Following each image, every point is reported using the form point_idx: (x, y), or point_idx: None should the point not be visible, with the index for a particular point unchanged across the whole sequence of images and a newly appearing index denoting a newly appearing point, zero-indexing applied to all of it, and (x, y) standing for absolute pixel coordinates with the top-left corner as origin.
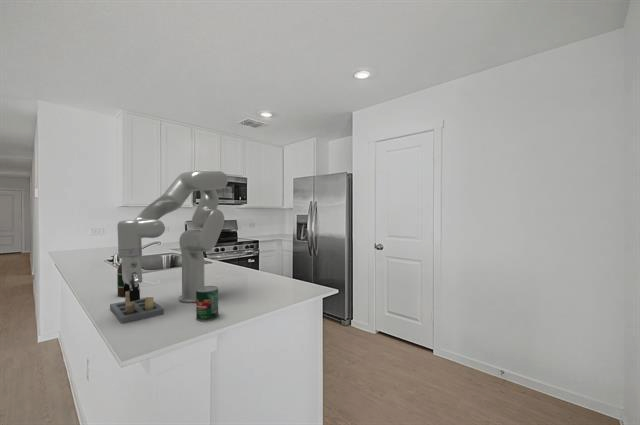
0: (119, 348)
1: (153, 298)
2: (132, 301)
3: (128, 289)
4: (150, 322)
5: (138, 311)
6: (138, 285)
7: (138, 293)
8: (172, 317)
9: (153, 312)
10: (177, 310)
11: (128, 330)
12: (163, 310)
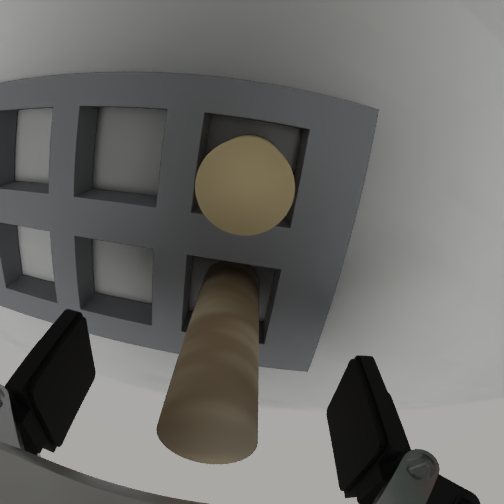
0: (500, 391)
1: (274, 147)
2: (256, 358)
3: (66, 390)
4: (429, 246)
5: (259, 261)
6: (477, 500)
7: (384, 413)
8: (463, 122)
9: (360, 187)
10: (362, 13)
11: (420, 351)
12: (373, 111)
